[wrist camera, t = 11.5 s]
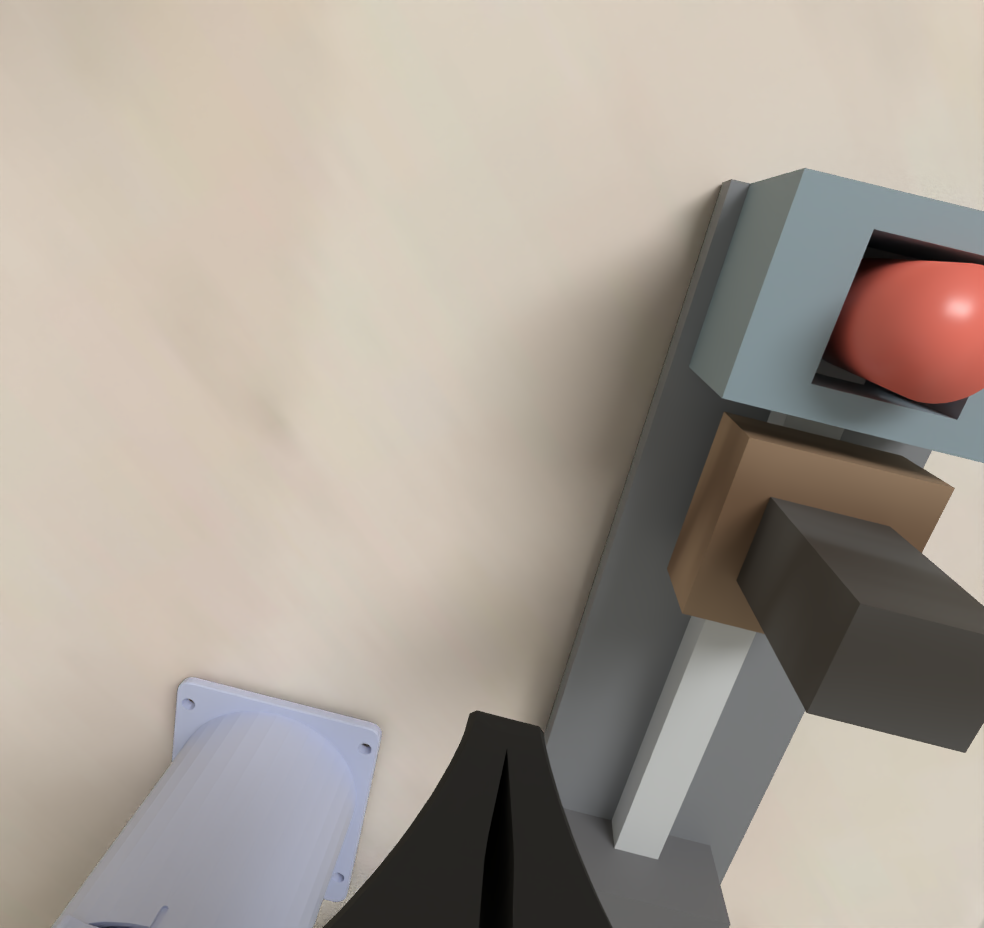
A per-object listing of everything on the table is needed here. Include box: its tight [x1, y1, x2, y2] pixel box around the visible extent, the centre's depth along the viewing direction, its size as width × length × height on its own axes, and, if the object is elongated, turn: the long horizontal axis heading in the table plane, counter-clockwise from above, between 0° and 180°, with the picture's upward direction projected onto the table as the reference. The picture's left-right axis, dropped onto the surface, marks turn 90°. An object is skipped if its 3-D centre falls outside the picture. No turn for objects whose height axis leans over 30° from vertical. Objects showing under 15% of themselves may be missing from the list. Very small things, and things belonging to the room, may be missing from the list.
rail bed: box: [544, 168, 984, 928], centre depth 20 cm, size 24×8×5 cm, turn 167°
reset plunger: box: [822, 258, 984, 404], centre depth 15 cm, size 3×3×4 cm
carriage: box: [667, 412, 984, 753], centre depth 15 cm, size 5×5×8 cm
